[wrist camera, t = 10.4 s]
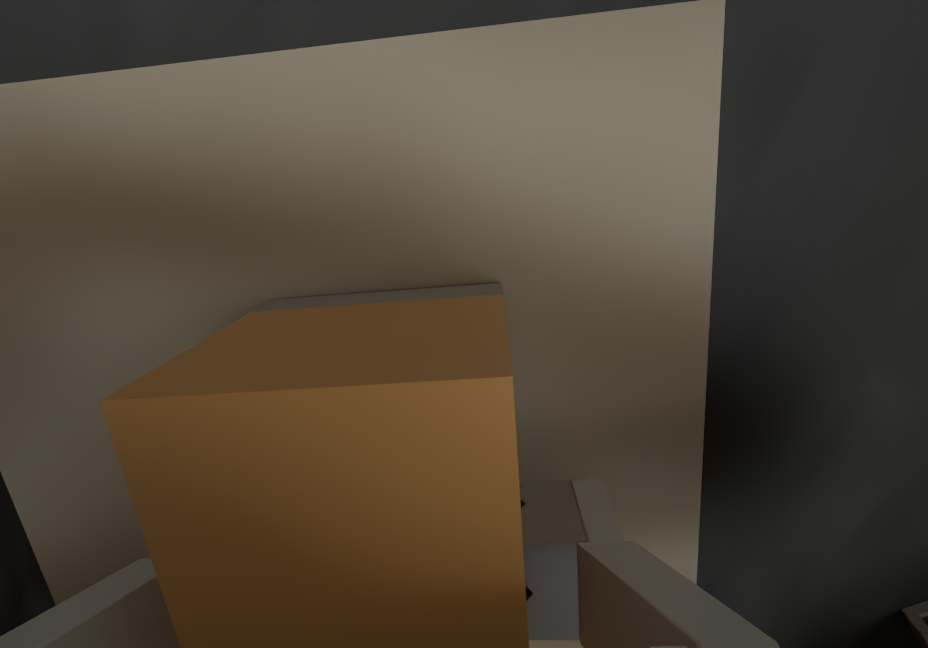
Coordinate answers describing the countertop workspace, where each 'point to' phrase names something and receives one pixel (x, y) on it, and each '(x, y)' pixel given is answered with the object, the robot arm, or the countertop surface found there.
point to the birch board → (372, 243)
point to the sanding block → (334, 475)
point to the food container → (918, 621)
